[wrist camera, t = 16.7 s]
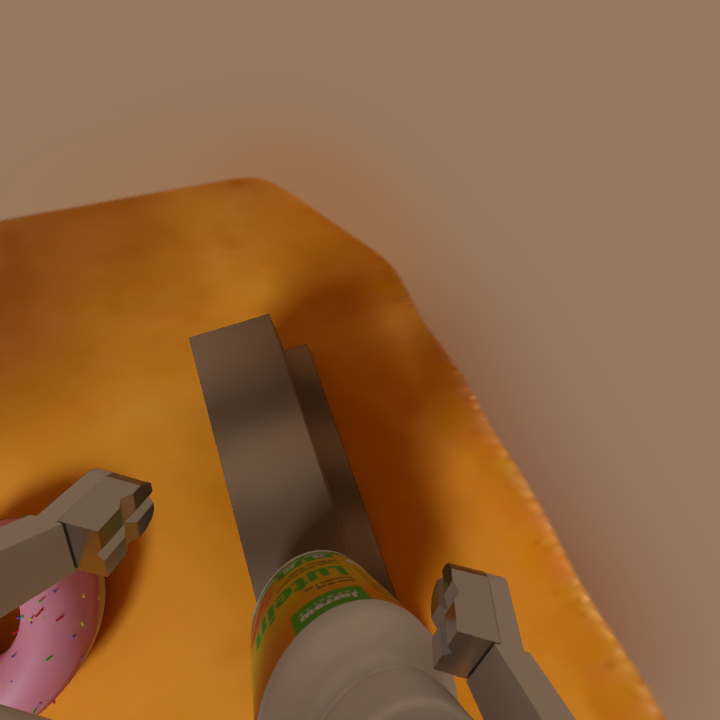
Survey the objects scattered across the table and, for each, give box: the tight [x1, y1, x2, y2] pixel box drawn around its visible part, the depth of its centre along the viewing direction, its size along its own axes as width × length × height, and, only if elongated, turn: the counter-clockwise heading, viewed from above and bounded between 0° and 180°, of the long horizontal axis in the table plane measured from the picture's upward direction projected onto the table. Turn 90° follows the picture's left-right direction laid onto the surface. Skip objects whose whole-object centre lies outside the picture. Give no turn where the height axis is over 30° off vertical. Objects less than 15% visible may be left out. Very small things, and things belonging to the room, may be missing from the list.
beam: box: [189, 314, 397, 602], centre depth 21 cm, size 22×8×8 cm, turn 21°
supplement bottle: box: [251, 550, 473, 720], centre depth 11 cm, size 5×5×10 cm
